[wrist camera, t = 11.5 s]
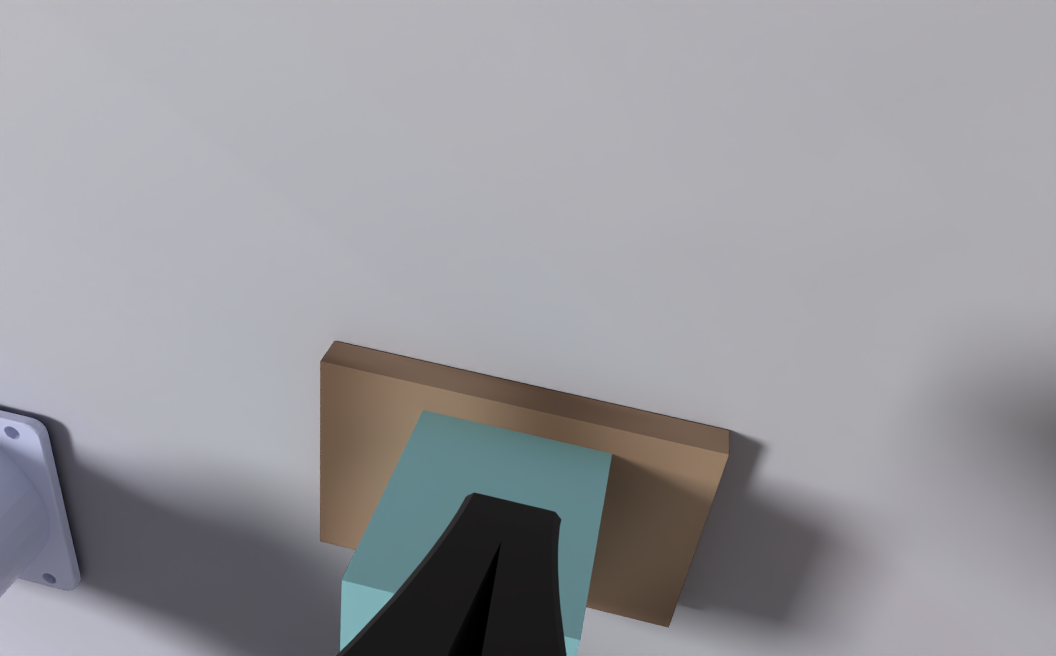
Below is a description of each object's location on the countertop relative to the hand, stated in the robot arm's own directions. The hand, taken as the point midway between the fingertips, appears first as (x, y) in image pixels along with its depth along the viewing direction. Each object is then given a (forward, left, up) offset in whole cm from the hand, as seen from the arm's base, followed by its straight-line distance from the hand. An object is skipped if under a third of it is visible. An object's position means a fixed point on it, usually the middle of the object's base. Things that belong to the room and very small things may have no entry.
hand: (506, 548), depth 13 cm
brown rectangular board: (-1, -8, -10) cm, 13 cm away
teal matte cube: (-1, -8, -9) cm, 12 cm away
